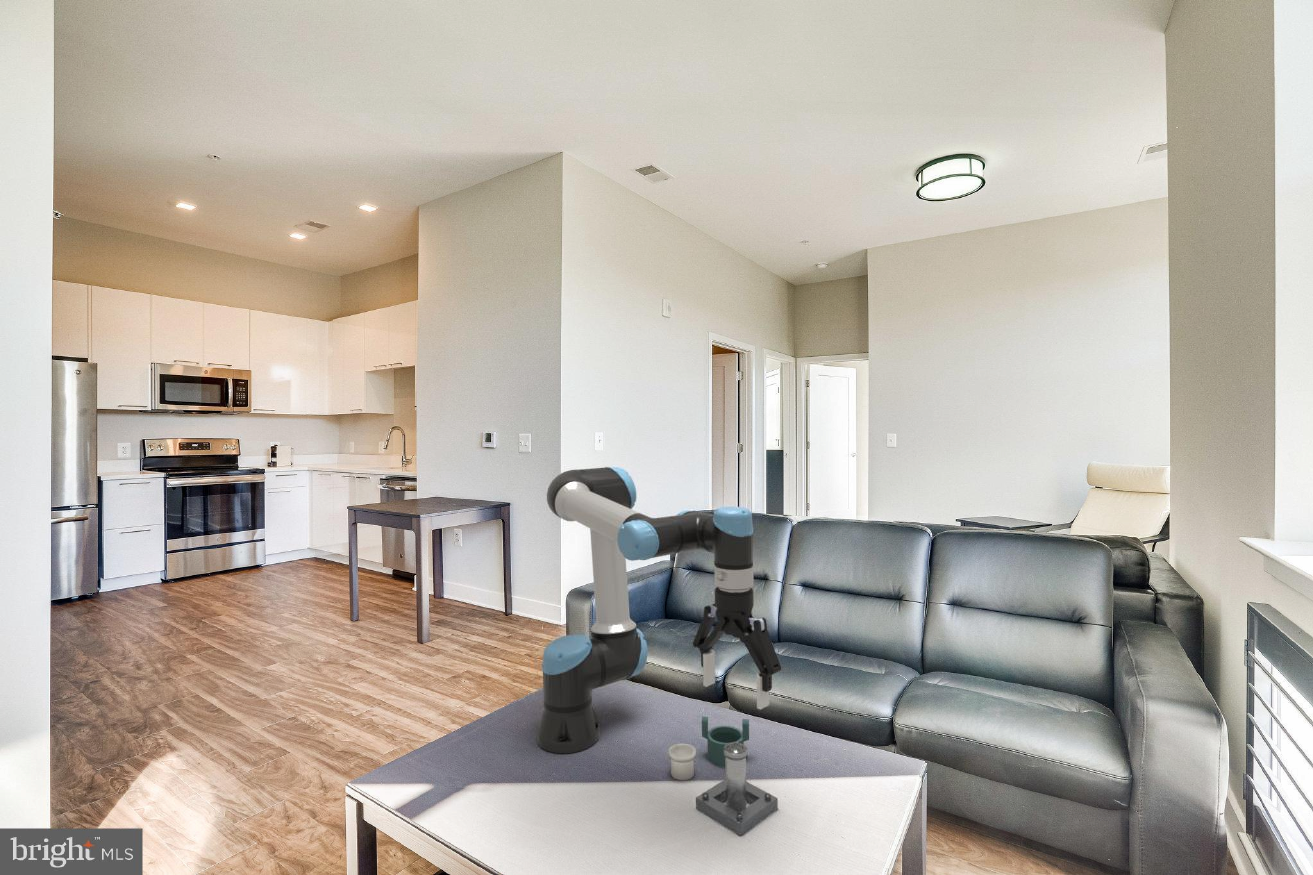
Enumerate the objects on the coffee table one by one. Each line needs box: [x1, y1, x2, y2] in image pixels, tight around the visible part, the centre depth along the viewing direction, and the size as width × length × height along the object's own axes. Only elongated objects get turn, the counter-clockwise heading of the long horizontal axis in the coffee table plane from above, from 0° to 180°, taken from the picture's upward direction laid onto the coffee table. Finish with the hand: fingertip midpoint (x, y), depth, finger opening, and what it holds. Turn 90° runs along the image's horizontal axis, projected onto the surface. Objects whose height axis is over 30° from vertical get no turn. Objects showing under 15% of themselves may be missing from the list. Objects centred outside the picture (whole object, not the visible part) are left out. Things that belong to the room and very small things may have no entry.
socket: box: [695, 778, 779, 837], centre depth 120 cm, size 11×11×3 cm
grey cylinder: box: [724, 743, 748, 813], centre depth 120 cm, size 5×5×12 cm
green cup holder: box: [701, 716, 750, 768], centre depth 139 cm, size 9×9×9 cm
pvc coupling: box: [668, 743, 697, 781], centre depth 133 cm, size 6×6×5 cm
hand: (735, 695), depth 120 cm, fingers open, 13 cm apart
